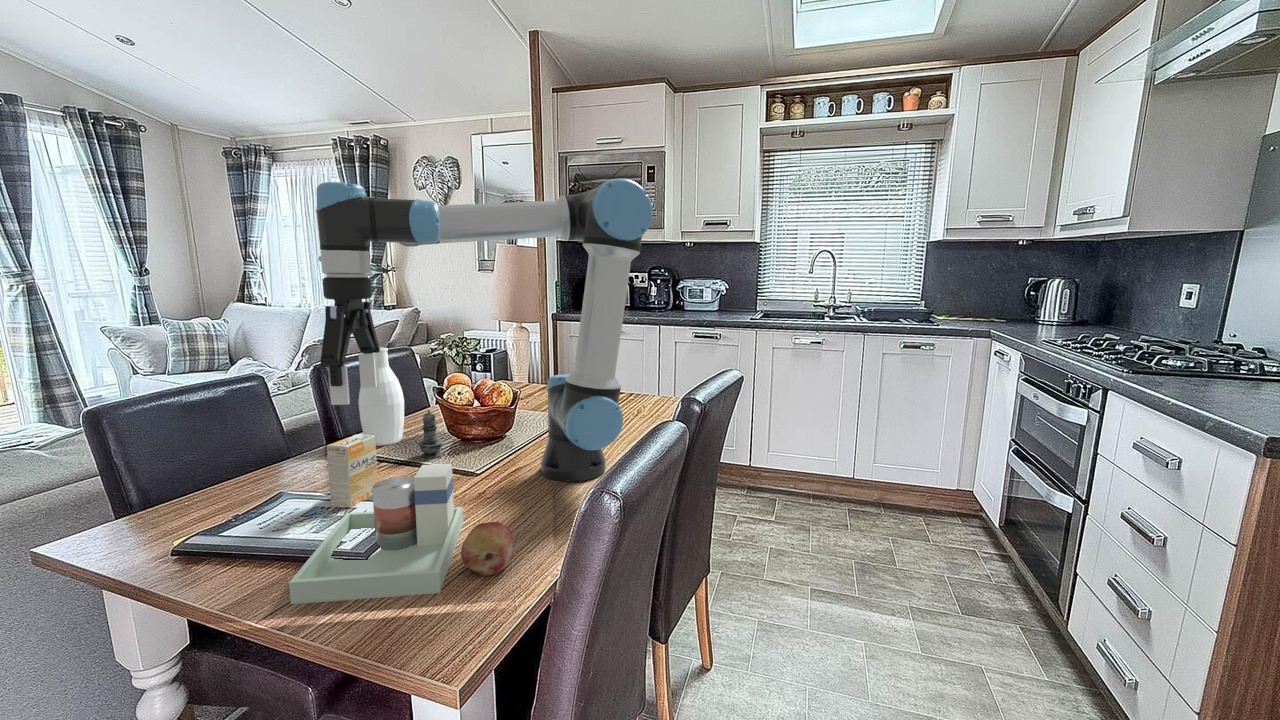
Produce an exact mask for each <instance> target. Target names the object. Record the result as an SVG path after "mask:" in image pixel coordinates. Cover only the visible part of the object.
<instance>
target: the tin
mask: <svg viewBox="0 0 1280 720" xmlns="http://www.w3.org/2000/svg"><path fill="white" fill-rule="evenodd" d="M414 491H415V489H414V477H411V476H394V477H390V478H386V479H383V480H380V481H378V482H377V483H376V484H374V485H373V496H372V499H373V503H372V504H373V505H372V506H373V512H374V522H375V531H376V541H377V543H378V544H379V545H380V547H381V549H382V550H400V549H404V548H408V547H410V546H412V545H414V544H416V543H417V527H416V508H415V496H414Z"/></svg>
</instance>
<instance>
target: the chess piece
mask: <svg viewBox="0 0 1280 720" xmlns="http://www.w3.org/2000/svg"><path fill="white" fill-rule="evenodd" d="M422 418H423V419H422V420H423V427H422V428H421V429H422V432H423V439H422V440H420V441H419V442H417V445H418V447H419V449H420V451H421V452H422V454H421V456H419V458H420V457H421V458H423V459H422V460H425V459H431V460H435V459H434V458H437V459H439V458H438V457H440V456H441V457H442V456H443V453H441V452H440V450H441V448H442V446H443V442H444V440H442V439H440V438H438V436H437V429H438V426H437V425H436V424H437V423H436V415H435V414H434V413H432V412H431V410H430V409H428V410H427V413H424V415H423V417H422ZM441 457H440V458H441ZM421 458H420V459H421Z"/></svg>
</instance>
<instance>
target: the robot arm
mask: <svg viewBox="0 0 1280 720" xmlns="http://www.w3.org/2000/svg"><path fill="white" fill-rule="evenodd" d="M315 193H316V208H315V212H316V213H315V214H316V221H317V230H318V239H319V240H318V241H319V251H320V252H319V253H320V256H318V257H317V259H318V261H319V262H320V263H321V272H322V273H323V274H325V275H326V276H325V277H323V279H321V280H322V290H323V292H322V293H323V297H324V298H325V299H326V300H333V301H334V304H333V305H326V306H325V308H324V309H325V311H324V312H325V313H324V314H325V323H324V330H323V338H322V347H321V353H320V366H321V367H322V368H323V367H324V368H327V372H328V384H329V385H328V386H329V395H330V406H335V405H336V406H341V405H343V406H344V405H346V406H347V405H350V404H351V401H350V400H351V399H350V385H349V378H348V377H349V376H348V375H349V374H348V365H345V361H346V356H347V353H348V350H349V349H348V348H349V345H350V340H351V336H352V335H353V338H354V340H355V342H356V344H357V347H358V349H359V352H360V353H358V367H359V380H360V381H359V382H360V388H368V387H377V379H376V364H375V353H379V352H380V346H379V340H378V336H377V331H376V328H375V324H374V320H373V317H372V312H371V303H370V301H363V300H368V299H371V298H372V297H373V290H372V289H373V288H372V279H370V277H368V275H370V274H371V273H372V272H371V271H372V270H371V256H370V247H369V243H370V242H371V243H372V242H373V243H396V244H397V243H399V245H401V246H404V247H418V246H423V245H424V246H426V245H437V244H440V245H441V244H451V243H452V244H455V243H469V242H470V243H471V242H472V243H473V242H485V241H486V242H487V241H488V242H489V241H502V240H503V241H505V240H508V241H509V240H522V239H537V238H538V239H539V238H556V237H560V238H561V239H562V240H563V241H564V242H565V241H566V242H570V241H582V247H583V248H584V249H585V251H586V252H587V254H588V260H587V268H586V269H587V270H586V275H585V282H584V291H583V292H584V293H583V299H582V306H581V307H582V308H581V312H580V313H581V314H580V316H581V317H580V322H579V331H578V337H577V344H576V345H577V347H576V354H575V362H574V368H573V371H572V372H571V373H566V374H564V373H563V374H556V375H552V376H549V378H548V381H547V387H546V390H547V391H546V392H547V420H548V422H547V425H548V426H547V428H548V430H547V431H548V434H547V436H548V438H547V443H546V444H545V445H546V446H545V449H544V451H543V454H542V457H541V461H540V462H541V463H540V472H541V474H542V475H543V476H544V477H546V478H548V479H551V480H554V481H560V482H579V481H580V482H581V481H588V480H593V479H594V478H598V477H600V476H601V475H603V474H604V473H605V472H606V458H605V454H604V451H603V449H604V448H607V447H608V446H610V445H612V443H613V442H615V441H616V440H617V438H619V436H620V434H621V432H622V429H623V425H624V416H623V415H624V414H623V411H622V409H621V406H620V405H619V403H620V397H621V390H622V385H621V383H620V382H619V380H618V379H617V377H616V374H617V373H616V371H617V365H618V364H617V363H618V359H619V351H620V350H619V349H620V342H621V335H622V329H623V322H624V315H625V306H626V299H627V293H628V286H629V280H630V279H629V278H630V270H631V266H632V265H631V262H632V261H633V260H634V259H635V258H637V257H638V256H639V255H640V253H641V247H642V240H643V235H644V234H646V232H647V231H648V229H649V228H650V227H651V226H650V225H651V224H652V221H653V216H654V211H653V210H654V209H653V204H652V200H651V198H650V196H649V194H648V193H647V191H646V190H645V189H644V188H643V187H642V185H640V184H639V183H637V182H636V181H634V180H631V179H628V178H616V179H615V178H614V179H609V180H605V181H604V182H602V183H601V184H600V185H599V186H597V187H594V188H592V189H590V190H587V191H584V192H581V193H576V194H568V195H566V194H564V195H563V194H562V195H560V196H559V198H557V199H556V200H544V201H543V200H540V201H539V200H538V201H520V202H519V201H517V202H515V201H514V202H497V203H496V202H493V203H492V202H491V203H490V202H489V203H469V204H466V203H465V204H447V205H446V204H443V205H442V204H441V205H439V204H438V203H437V202H436V201H431V200H430V201H429V200H422V199H418V198H416V199H402V198H401V199H400V198H376V197H372V196H367V193H366V189H365V187H364V186H362V185H360V184H357V183H347V182H338V181H337V182H336V181H332V182H331V181H327V182H321V183H320V184H319V185H317V186H316V192H315Z"/></svg>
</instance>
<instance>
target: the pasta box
mask: <svg viewBox="0 0 1280 720" xmlns="http://www.w3.org/2000/svg"><path fill="white" fill-rule="evenodd" d="M413 478H414V489H415V491H414V496H415V508H416V527H417V546H425V545H441V544H444V543H445V540H446V537H447V535H448V532H449V529H450V527H451V524H452V522H453V519H454V507H455V506H454V504H455V503H454V502H455V501H454V476H453V463H443V464H442V463H440V464H439V463H437V464H422V465H421V466H420V468H419V469H418V471H417V472H416V474H415V475H414V477H413Z"/></svg>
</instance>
